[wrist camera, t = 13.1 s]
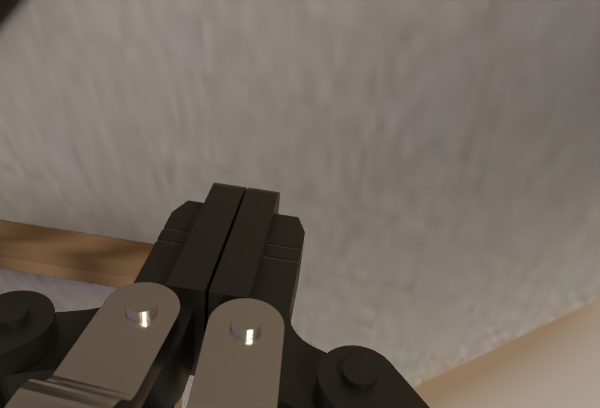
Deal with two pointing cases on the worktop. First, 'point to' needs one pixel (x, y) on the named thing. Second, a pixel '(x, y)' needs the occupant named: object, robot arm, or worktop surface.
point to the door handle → (6, 7)
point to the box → (71, 254)
